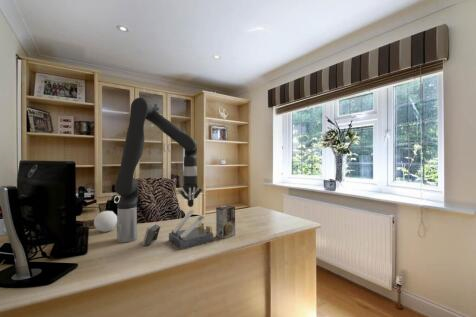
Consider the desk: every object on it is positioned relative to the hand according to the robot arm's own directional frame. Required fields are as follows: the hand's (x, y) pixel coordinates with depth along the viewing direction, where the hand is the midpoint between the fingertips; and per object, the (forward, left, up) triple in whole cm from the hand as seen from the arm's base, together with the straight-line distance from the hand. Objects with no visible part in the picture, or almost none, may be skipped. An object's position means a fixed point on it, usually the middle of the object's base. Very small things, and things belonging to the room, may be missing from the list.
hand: (190, 206), depth 125 cm
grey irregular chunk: (-19, +6, -17) cm, 26 cm away
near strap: (-3, -9, -9) cm, 13 cm away
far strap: (-4, 0, -8) cm, 9 cm away
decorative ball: (-35, +41, -17) cm, 57 cm away
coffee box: (+17, -9, -17) cm, 26 cm away
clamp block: (-2, -4, -17) cm, 18 cm away
